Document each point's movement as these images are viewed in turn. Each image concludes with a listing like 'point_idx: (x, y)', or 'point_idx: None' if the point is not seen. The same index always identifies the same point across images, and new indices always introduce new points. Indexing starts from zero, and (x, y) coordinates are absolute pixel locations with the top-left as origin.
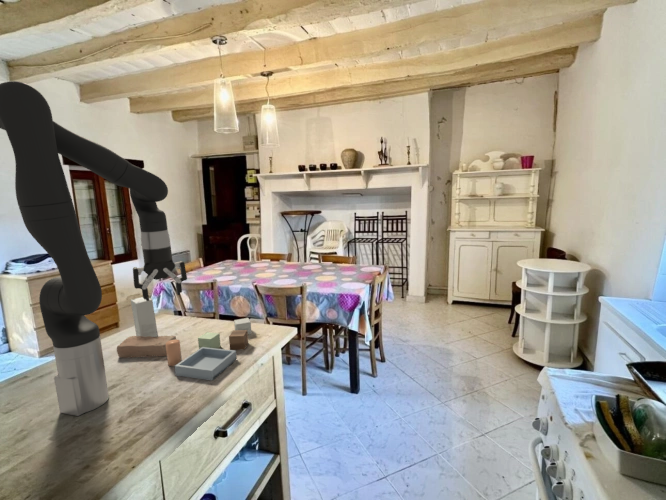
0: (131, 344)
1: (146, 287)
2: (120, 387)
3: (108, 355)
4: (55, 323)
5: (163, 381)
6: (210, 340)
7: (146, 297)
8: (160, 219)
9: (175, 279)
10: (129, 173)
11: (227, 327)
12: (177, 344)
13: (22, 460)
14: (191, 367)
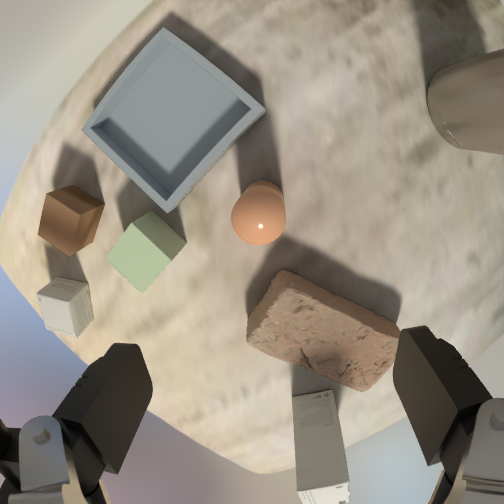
0: (375, 339)
1: (480, 423)
2: (406, 135)
3: None
4: None
5: (301, 95)
6: (134, 222)
7: (436, 342)
8: None
9: (53, 472)
10: None
11: None
12: (242, 196)
13: (494, 8)
14: (214, 69)
